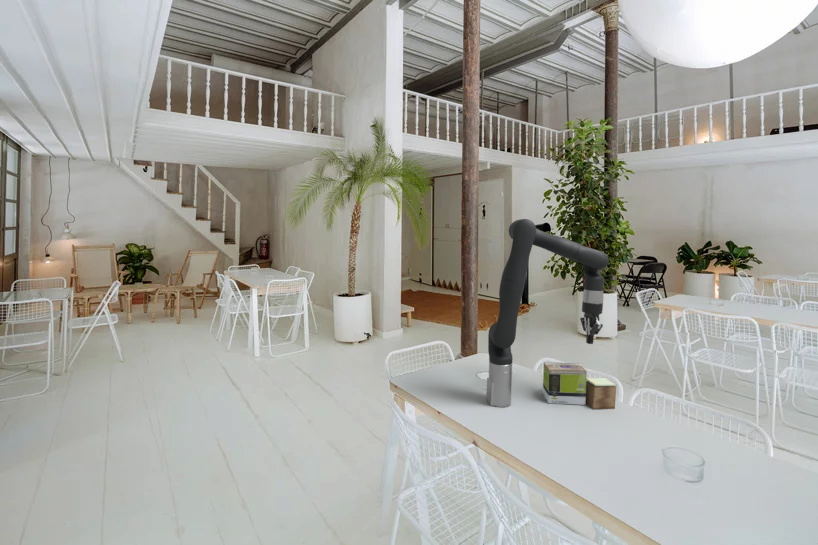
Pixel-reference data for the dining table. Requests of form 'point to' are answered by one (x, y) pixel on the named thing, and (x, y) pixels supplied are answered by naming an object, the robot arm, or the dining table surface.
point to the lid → (600, 382)
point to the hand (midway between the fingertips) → (589, 343)
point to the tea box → (564, 383)
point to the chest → (600, 396)
